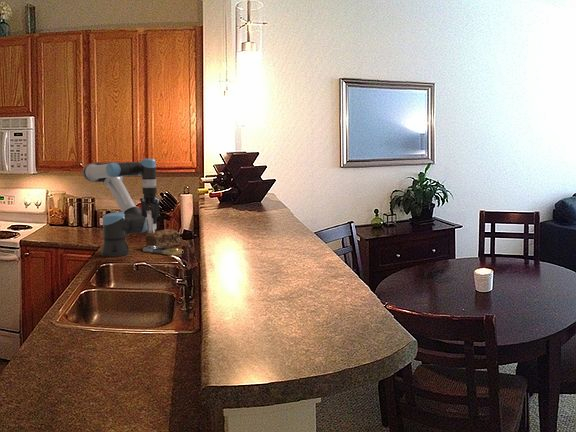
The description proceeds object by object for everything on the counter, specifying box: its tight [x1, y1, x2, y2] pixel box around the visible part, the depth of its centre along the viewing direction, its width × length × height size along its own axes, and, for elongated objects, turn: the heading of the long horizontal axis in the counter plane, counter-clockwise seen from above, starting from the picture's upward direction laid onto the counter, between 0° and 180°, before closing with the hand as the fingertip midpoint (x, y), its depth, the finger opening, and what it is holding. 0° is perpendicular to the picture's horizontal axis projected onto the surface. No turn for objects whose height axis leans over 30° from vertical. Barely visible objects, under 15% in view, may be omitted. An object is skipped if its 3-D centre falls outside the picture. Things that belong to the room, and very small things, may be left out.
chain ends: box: [142, 245, 184, 256], centre depth 311 cm, size 24×8×3 cm, turn 57°
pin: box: [146, 209, 156, 234], centre depth 301 cm, size 5×5×12 cm
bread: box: [145, 228, 181, 248], centre depth 329 cm, size 19×11×10 cm, turn 141°
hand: (151, 229), depth 302 cm, fingers closed on pin, 4 cm apart
